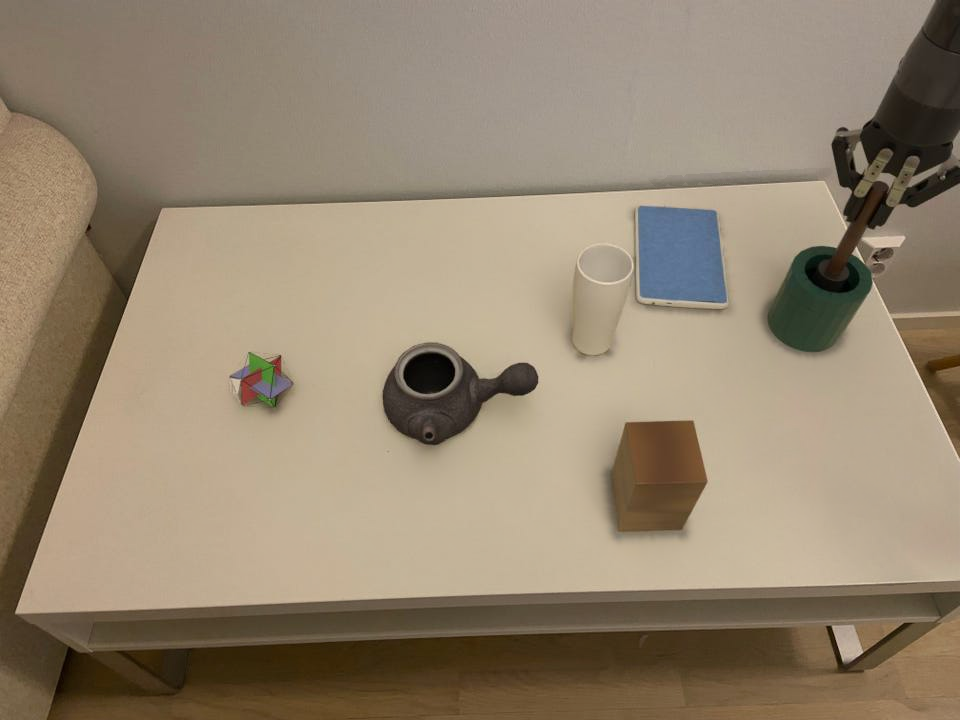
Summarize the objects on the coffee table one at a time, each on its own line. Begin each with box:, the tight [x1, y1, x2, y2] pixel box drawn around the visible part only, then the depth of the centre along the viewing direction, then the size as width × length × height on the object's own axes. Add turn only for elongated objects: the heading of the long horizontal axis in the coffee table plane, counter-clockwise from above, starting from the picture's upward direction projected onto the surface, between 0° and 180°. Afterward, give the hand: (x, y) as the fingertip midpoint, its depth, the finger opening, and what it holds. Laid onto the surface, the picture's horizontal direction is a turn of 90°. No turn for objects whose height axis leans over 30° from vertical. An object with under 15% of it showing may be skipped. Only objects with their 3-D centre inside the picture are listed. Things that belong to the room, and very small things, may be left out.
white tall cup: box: [571, 242, 635, 356], centre depth 87 cm, size 7×7×15 cm
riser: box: [610, 419, 709, 533], centre depth 75 cm, size 7×7×12 cm
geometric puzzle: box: [228, 350, 295, 409], centre depth 87 cm, size 7×7×8 cm
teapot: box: [381, 341, 539, 446], centre depth 83 cm, size 19×15×10 cm
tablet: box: [634, 204, 730, 310], centre depth 101 cm, size 19×13×1 cm, turn 173°
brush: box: [811, 180, 890, 293], centre depth 82 cm, size 4×4×18 cm
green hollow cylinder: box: [767, 245, 874, 353], centre depth 90 cm, size 9×9×10 cm
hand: (861, 220), depth 79 cm, fingers closed on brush, 2 cm apart
